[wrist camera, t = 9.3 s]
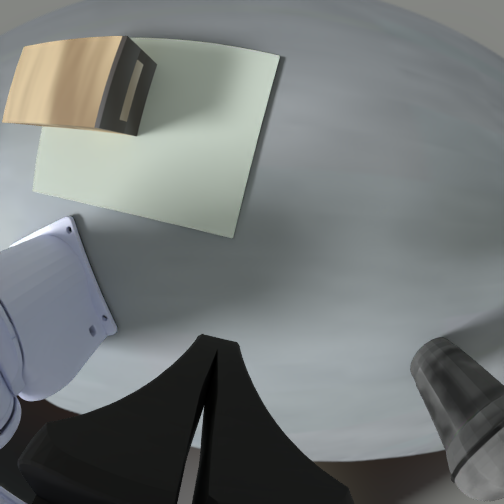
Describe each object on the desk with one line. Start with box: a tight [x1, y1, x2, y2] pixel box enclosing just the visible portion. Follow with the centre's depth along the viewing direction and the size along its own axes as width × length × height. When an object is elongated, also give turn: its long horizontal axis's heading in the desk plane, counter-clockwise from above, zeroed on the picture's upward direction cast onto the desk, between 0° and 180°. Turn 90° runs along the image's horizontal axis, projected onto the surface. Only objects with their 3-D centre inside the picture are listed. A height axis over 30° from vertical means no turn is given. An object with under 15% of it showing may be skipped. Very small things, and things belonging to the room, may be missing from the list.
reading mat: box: [33, 38, 280, 239], centre depth 17 cm, size 16×12×1 cm
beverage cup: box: [410, 338, 504, 501], centre depth 12 cm, size 7×7×20 cm
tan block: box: [2, 36, 157, 136], centre depth 13 cm, size 5×5×8 cm
